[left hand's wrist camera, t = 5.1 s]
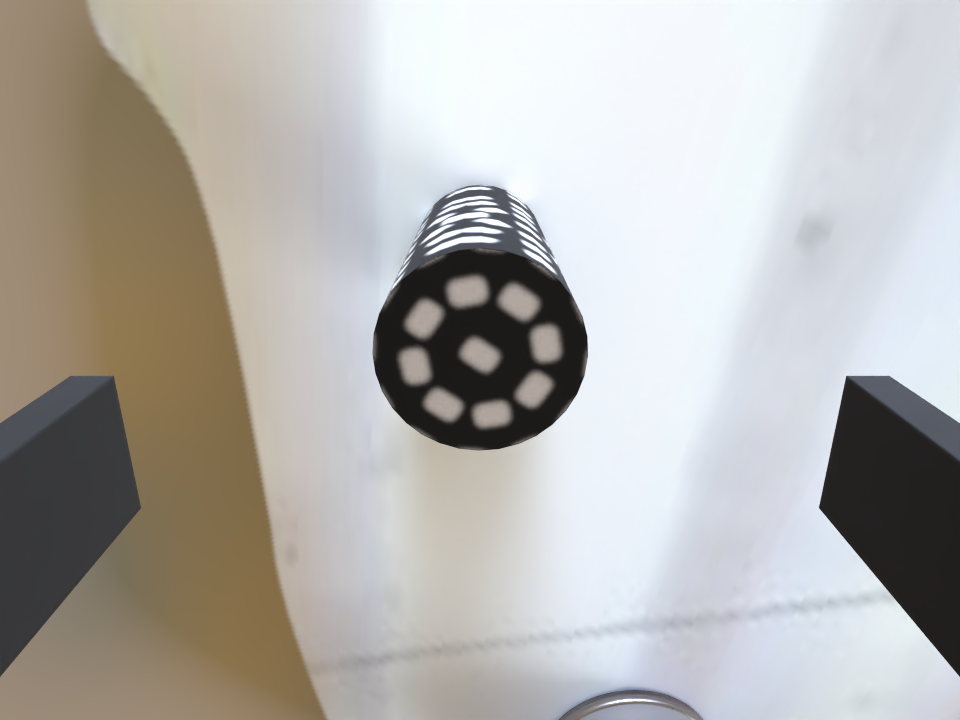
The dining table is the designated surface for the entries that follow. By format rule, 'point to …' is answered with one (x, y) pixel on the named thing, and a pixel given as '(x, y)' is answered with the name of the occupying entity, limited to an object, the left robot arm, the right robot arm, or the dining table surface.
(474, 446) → the black white spotted cylinder
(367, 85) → the dining table surface
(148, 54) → the dining table surface
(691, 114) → the dining table surface
